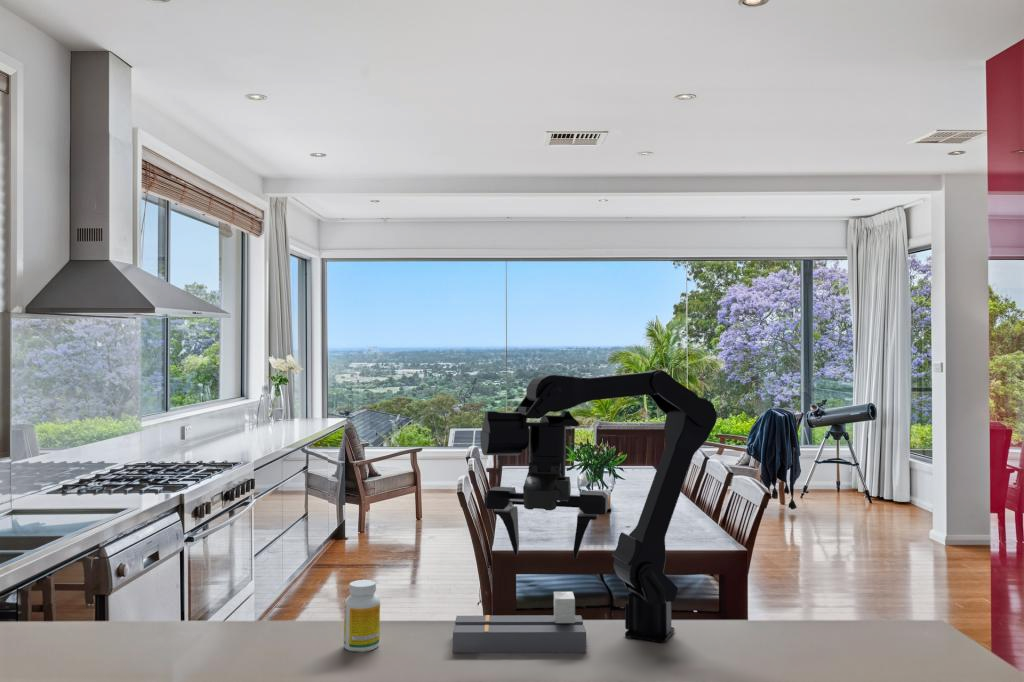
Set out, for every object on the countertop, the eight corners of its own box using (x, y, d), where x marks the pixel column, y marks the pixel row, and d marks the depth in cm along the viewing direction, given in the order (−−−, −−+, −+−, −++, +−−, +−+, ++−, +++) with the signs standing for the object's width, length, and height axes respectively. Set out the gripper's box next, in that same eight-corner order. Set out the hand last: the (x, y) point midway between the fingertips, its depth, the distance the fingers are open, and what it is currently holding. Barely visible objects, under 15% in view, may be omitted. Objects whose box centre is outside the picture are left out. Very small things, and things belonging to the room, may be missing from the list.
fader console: (581, 634, 119) (581, 614, 120) (586, 652, 111) (586, 631, 112) (456, 634, 119) (456, 614, 120) (452, 652, 111) (452, 631, 112)
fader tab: (572, 627, 118) (572, 591, 118) (575, 635, 114) (574, 599, 114) (553, 627, 118) (553, 591, 118) (555, 635, 114) (555, 599, 114)
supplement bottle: (336, 646, 114) (337, 583, 115) (365, 637, 118) (366, 576, 118) (357, 655, 110) (358, 589, 111) (386, 646, 114) (387, 582, 115)
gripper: (477, 457, 110) (474, 564, 109) (603, 462, 107) (602, 573, 106) (493, 451, 121) (491, 548, 120) (608, 455, 118) (607, 555, 117)
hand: (545, 556), depth 116 cm, fingers open, 9 cm apart
